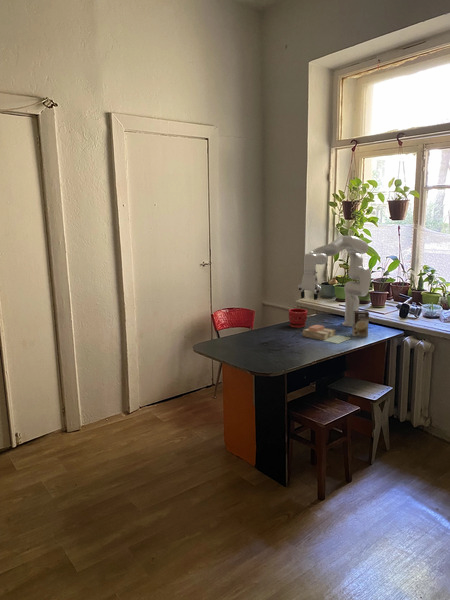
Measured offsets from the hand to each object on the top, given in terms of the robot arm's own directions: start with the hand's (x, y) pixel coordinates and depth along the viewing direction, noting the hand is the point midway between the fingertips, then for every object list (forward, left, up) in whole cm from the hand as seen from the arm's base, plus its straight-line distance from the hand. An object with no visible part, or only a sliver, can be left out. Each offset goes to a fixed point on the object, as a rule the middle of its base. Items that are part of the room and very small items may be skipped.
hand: (309, 298), depth 291 cm
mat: (-3, +20, -25) cm, 32 cm away
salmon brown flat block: (-3, +4, -21) cm, 21 cm away
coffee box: (-21, +26, -25) cm, 42 cm away
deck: (-3, +6, -25) cm, 26 cm away
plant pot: (-15, -19, -25) cm, 34 cm away
